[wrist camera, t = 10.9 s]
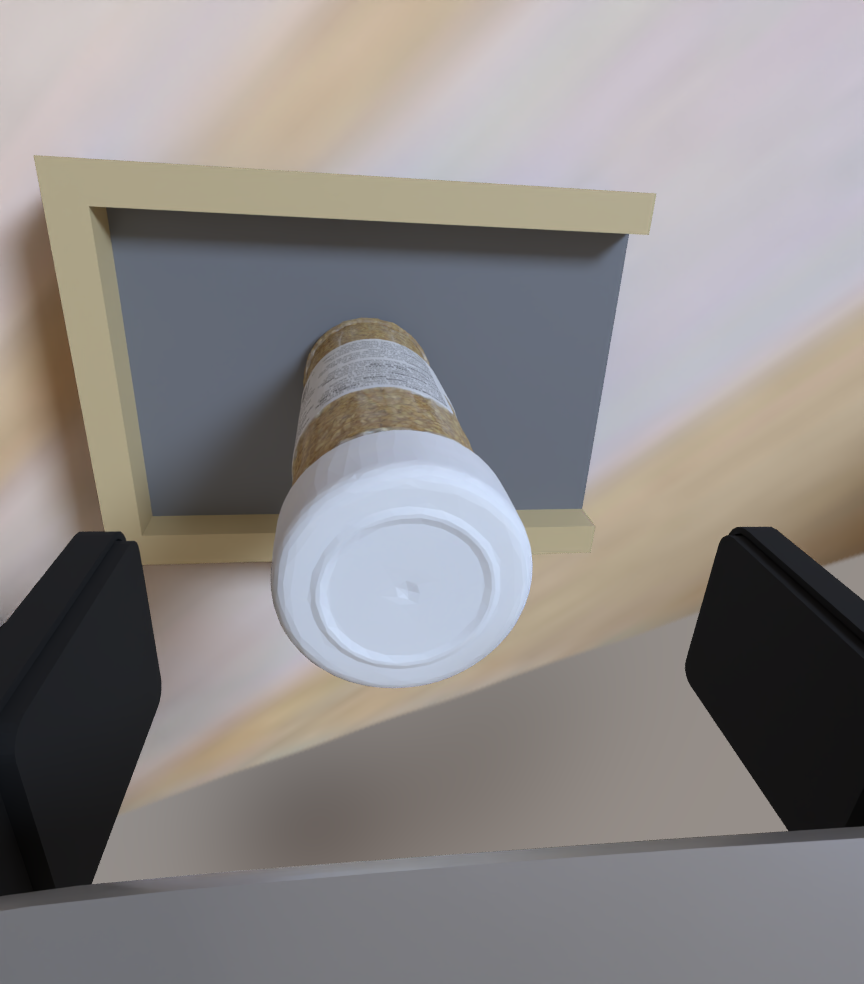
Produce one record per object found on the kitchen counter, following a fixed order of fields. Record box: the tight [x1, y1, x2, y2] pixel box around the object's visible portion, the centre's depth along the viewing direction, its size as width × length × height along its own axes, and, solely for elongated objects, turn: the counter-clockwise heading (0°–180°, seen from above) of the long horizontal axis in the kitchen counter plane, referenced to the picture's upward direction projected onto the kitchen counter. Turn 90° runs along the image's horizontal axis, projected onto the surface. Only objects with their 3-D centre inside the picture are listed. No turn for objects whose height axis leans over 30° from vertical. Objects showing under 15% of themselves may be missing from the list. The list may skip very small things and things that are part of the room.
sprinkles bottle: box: [271, 318, 532, 688], centre depth 17 cm, size 5×5×14 cm
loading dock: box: [34, 155, 656, 565], centre depth 23 cm, size 18×13×4 cm
